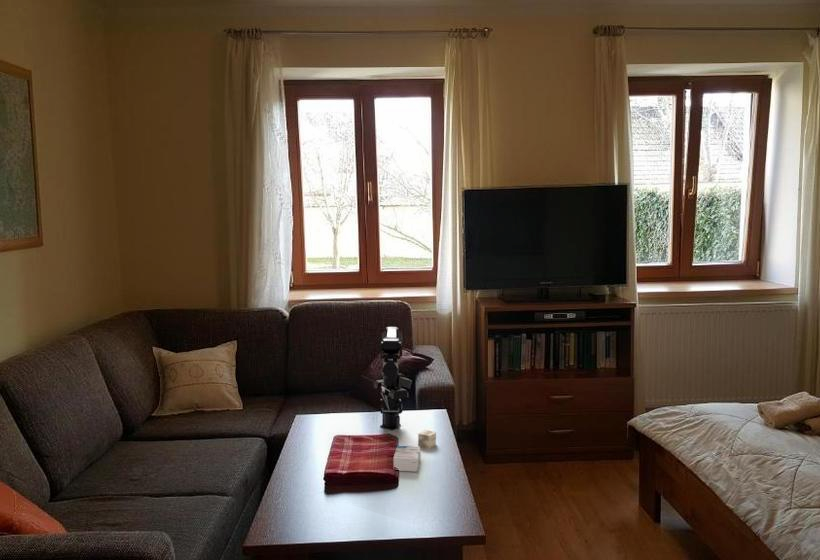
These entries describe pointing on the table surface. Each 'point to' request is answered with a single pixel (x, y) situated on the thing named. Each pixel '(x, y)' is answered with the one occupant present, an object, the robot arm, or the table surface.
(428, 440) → the birch block
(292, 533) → the table surface
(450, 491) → the table surface
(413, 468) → the ink box
